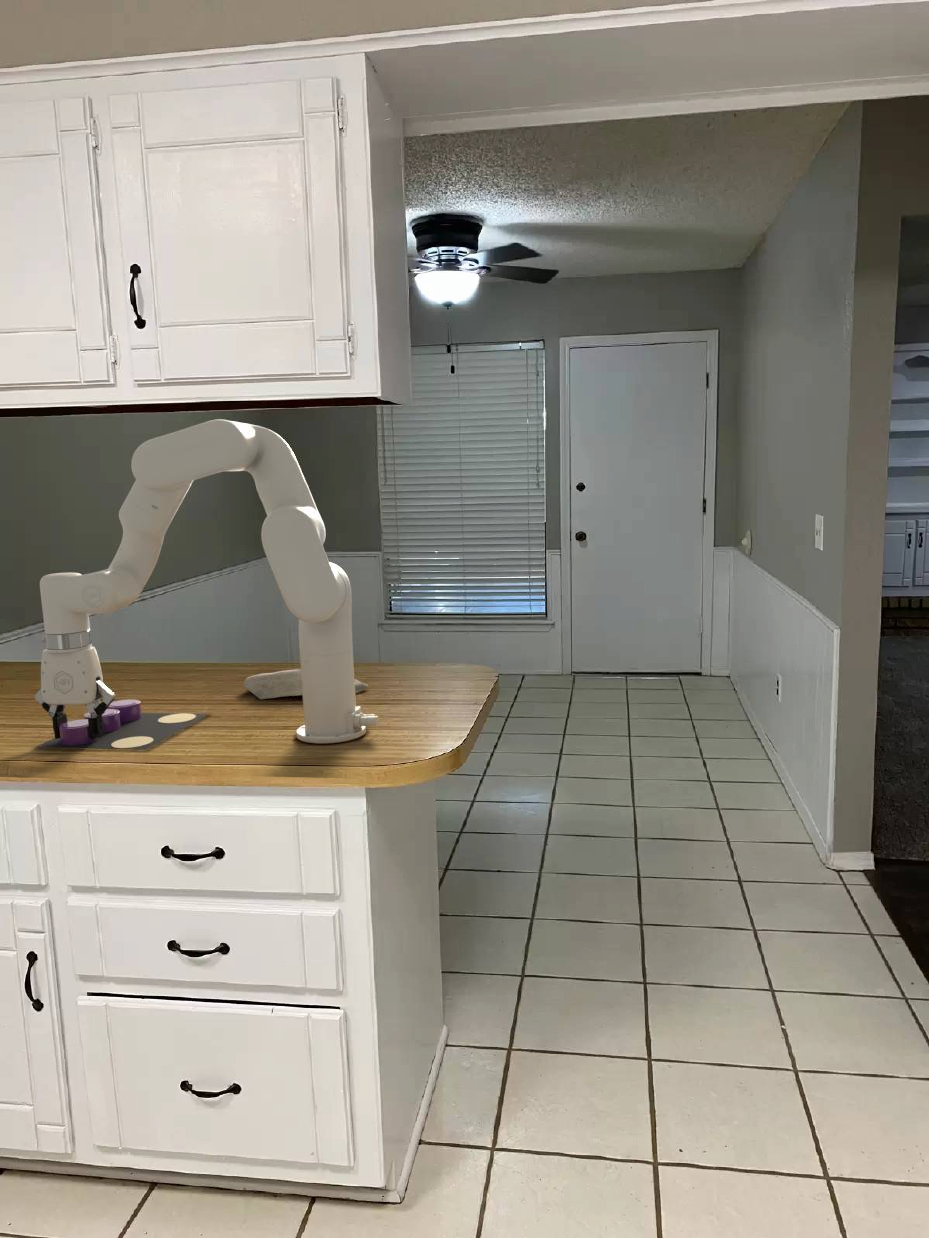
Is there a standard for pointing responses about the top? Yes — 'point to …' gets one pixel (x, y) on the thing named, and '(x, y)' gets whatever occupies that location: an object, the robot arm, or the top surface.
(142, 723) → the mat
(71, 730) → the purple short cylinder
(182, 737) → the top surface
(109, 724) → the dish
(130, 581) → the robot arm
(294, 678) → the stone
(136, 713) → the dish
